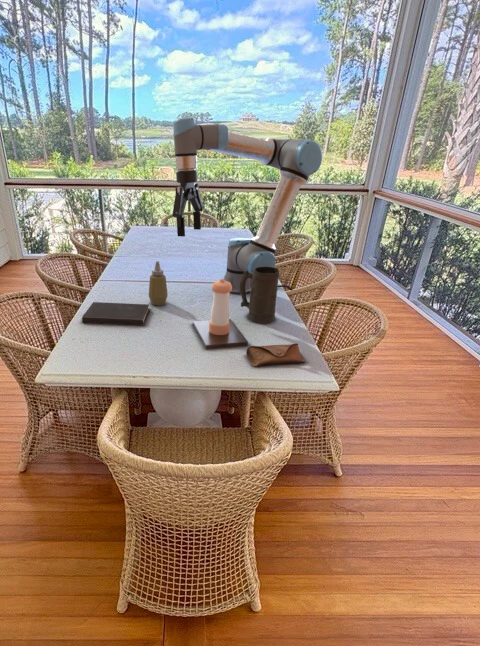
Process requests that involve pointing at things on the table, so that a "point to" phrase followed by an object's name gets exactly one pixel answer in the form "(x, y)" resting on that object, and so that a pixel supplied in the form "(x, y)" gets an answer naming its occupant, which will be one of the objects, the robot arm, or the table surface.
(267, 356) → the sunglasses case
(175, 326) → the table surface
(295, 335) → the table surface
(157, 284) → the squeeze bottle
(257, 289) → the beer stein
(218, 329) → the pepper shaker
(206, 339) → the serving board
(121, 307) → the hardcover book
